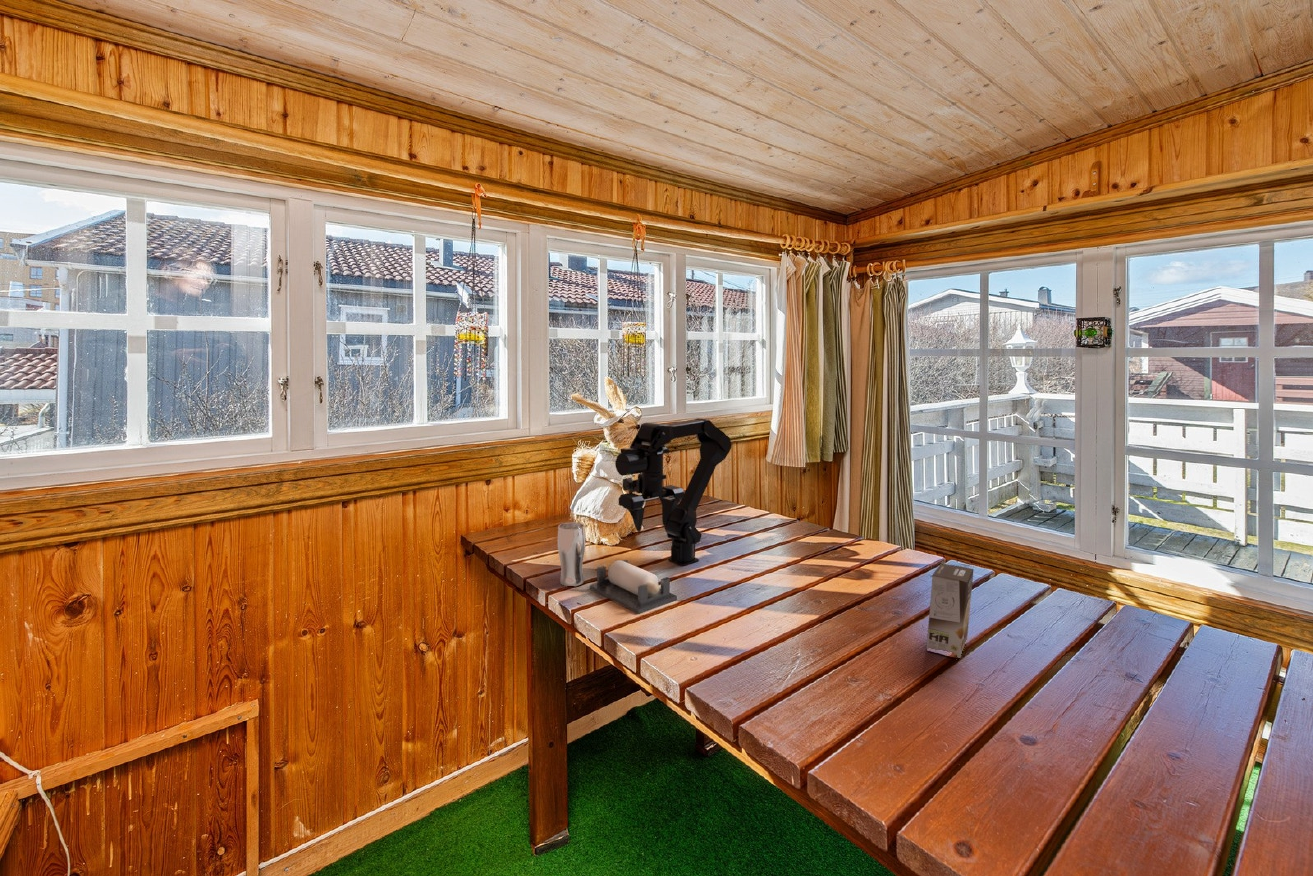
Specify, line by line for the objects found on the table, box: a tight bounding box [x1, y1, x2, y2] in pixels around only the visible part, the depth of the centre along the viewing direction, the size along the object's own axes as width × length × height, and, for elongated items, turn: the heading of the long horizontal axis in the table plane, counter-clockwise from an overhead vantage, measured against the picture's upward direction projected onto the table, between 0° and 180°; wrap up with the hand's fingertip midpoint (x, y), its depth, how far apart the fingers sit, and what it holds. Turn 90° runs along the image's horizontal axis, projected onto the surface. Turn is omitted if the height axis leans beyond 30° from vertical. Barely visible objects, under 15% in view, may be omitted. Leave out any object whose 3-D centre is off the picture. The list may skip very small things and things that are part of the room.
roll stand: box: [589, 559, 678, 615], centre depth 148 cm, size 12×19×6 cm, turn 41°
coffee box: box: [926, 563, 975, 659], centre depth 122 cm, size 9×6×16 cm
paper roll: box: [607, 559, 661, 597], centre depth 147 cm, size 17×6×6 cm, turn 42°
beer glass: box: [557, 521, 586, 587], centre depth 154 cm, size 7×7×15 cm
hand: (651, 527), depth 162 cm, fingers open, 9 cm apart
